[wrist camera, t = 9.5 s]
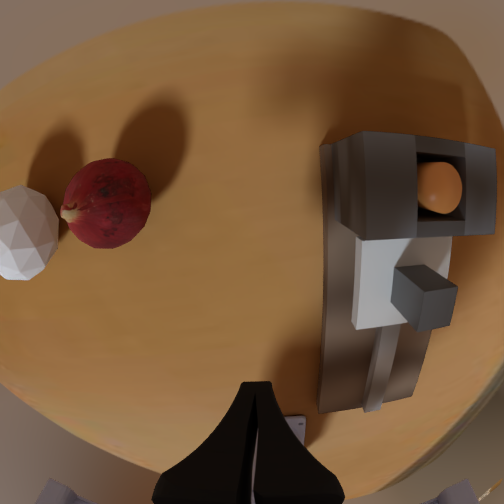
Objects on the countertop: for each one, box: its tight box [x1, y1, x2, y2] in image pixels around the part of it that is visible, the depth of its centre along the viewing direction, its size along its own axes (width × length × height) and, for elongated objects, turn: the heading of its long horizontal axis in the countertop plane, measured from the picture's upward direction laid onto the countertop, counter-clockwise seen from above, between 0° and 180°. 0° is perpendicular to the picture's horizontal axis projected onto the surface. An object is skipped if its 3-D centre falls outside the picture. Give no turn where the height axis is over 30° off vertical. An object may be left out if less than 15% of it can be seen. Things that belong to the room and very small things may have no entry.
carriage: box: [351, 236, 458, 332], centre depth 15 cm, size 6×7×6 cm
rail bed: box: [317, 131, 497, 414], centre depth 17 cm, size 23×10×8 cm, turn 4°
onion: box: [60, 158, 151, 249], centre depth 16 cm, size 6×6×8 cm
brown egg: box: [417, 162, 462, 214], centre depth 13 cm, size 3×3×4 cm
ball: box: [0, 185, 59, 280], centre depth 17 cm, size 8×8×8 cm
